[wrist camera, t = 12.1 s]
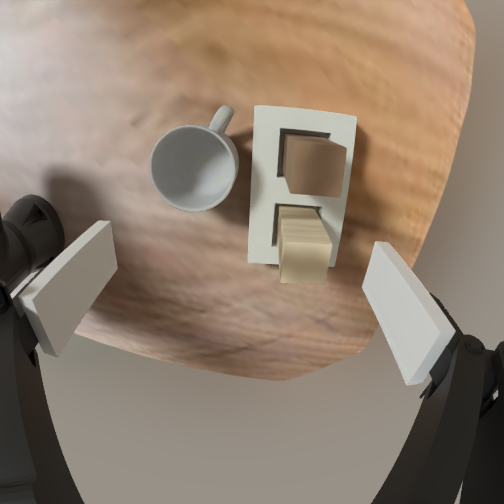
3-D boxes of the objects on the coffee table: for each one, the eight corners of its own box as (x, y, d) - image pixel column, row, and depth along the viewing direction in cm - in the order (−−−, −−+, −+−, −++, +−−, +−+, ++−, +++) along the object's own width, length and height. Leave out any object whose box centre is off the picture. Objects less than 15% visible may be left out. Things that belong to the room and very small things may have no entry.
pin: (278, 202, 40) (285, 241, 29) (312, 204, 40) (332, 244, 29) (275, 234, 43) (280, 282, 31) (308, 236, 43) (324, 284, 31)
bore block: (248, 250, 45) (247, 262, 42) (255, 106, 35) (254, 105, 32) (329, 254, 45) (334, 267, 42) (348, 115, 35) (357, 116, 31)
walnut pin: (281, 167, 38) (290, 193, 27) (283, 132, 36) (294, 141, 24) (316, 171, 38) (340, 198, 27) (320, 136, 36) (347, 147, 24)
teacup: (208, 208, 42) (197, 229, 35) (153, 164, 39) (131, 176, 32) (272, 139, 37) (274, 145, 30) (213, 90, 34) (201, 85, 27)
